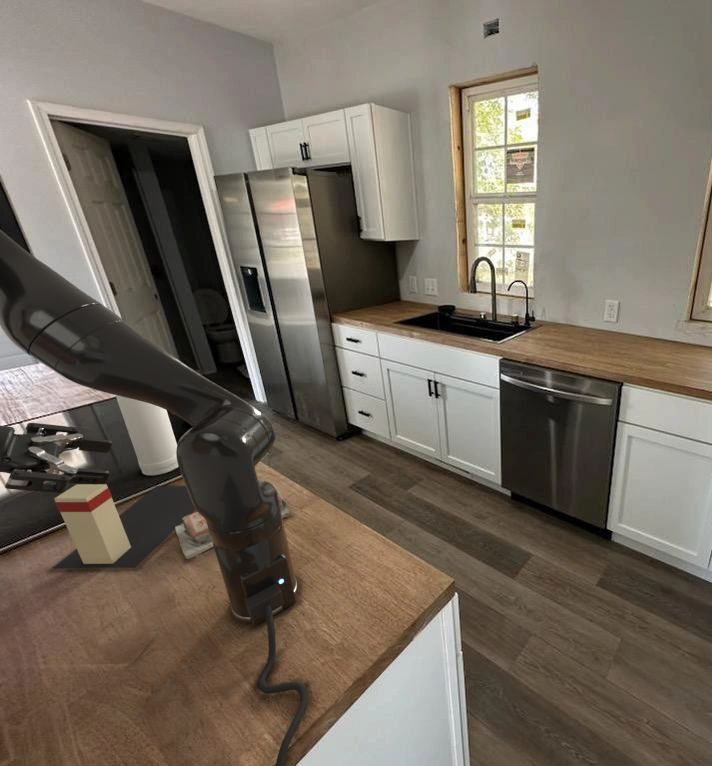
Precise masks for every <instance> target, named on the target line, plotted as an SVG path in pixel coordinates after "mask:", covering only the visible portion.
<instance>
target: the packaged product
mask: <svg viewBox="0 0 712 766" xmlns="http://www.w3.org/2000/svg"><path fill="white" fill-rule="evenodd" d="M271 484H272V483H271ZM272 485H273V486H274V487H275V489H276V491H277V494H278V499H279V504H280V508H281V513H282V518H283V519H284V518H286V517H289V516H291V513H292V512H291V511H290V510H289V508H288V507H287V502H286V499H285V498H284V495H283V494H282V493H281V492H280V491H279V490H278V488H277V487H276V485H275V484H272ZM182 522H183V523H181V524H180V525H179V526H176V527H175V533H176V536H177V537H178V541H179V545H180V548H181V551H182V553H183V555H184V557H185V558H186V560H189V559H192V558H194V557H196V556H198V555H201V554H202V553H203V552H206V551H208V550H209V549H212V548H214V546H213V543H212V539H211V536H210V532H209V529H208V526H207V523H206V520H205V519H204V518H203V516H201V515H200V514H199V513H198V511H196V512H195V511H194V512H193V513H192V514H190V515H187V516H185V517H184V518H182Z"/></svg>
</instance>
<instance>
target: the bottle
mask: <svg viewBox="0 0 712 766" xmlns="http://www.w3.org/2000/svg"><path fill="white" fill-rule="evenodd" d="M116 401H117V404H118V406H119V410H120V412H121V415H122V418H123V420H124V424H125V427H126V430H127V433H128V436H129V438H130V442H131V443H132V447H133V451H134V452H135V455H136V459H137V462H138V463H137V464H138V466H139V468H140V470H141V473H142V474H143V475H145V476H159V475H164V474H167V473H169V472H172V471H174V470H176V469H178V468H179V466H178V463H177V456H176V450H177V445H178V442H177V439H176V437H175V434H174V430H173V427H172V423H171V420H170V416H169V414H168V410H165V409H163V408H161V407H159V406H156V405H153V404H150V403H146V402H143V401H139V400H135V399H130V398H126V397H122V396H118V395H116Z"/></svg>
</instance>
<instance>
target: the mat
mask: <svg viewBox="0 0 712 766" xmlns="http://www.w3.org/2000/svg"><path fill="white" fill-rule="evenodd" d="M195 511H197V510H196V509H195V507H194V505H193V503H192V501H191V498H190V496H189V493H188V491H187V488H186V485H184V486H183V485H157V486H155V487H154V488H152V490H150V491H149V492H147V494H145V495H144V496H142V497H141V498H140V499H139V500H137V501H136V502H135V503H133V504H132V505H131V506H130V507H128V508H127V509H126V510H125V511H123V512H122V513H121V514H119V518H120V520H121V523H122V525H123V528H124V530H125V533H126V535H127V538H128V540H129V543H130V546H131V548H130V549H129V550H128V551H127V552H125V553H124V554H123V555H122V556H121V557H120V558H119V559H118V560H116V561H115V562H114V563H113V564H84V563H83V561H82V559H81V557H80V555H79V552H78V550H77V548H76V549H75V550H74V551H72V552H71V553H70V554H68V555H67V556H66V557H64V558H63V559H62V560H60V561H59V562H58V563H57V564H55V565H54V566H53V567H52V569H104V568H105V569H106V568H107V569H108V568H109V569H111V568H112V569H113V568H114V569H115V568H118V569H120V568H123V569H124V568H137V567H138V566H139V565H140V564H141V563H142V562H143V561H144V560H145V559H146V558H148V556H149V555H150V554H152V553H153V552H154V550H156V549H158V547H159V546H160V545H161V544H162V543H164V541H165V540H166V539H168V538H169V536H170V535H171V534H172V533H173V532H174V531H176V529H175V527H176V526H179V525H182V524H183V522H182V518H184V517H185V516H187V515H190V514H192V513H195Z"/></svg>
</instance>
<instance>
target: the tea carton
mask: <svg viewBox="0 0 712 766" xmlns="http://www.w3.org/2000/svg"><path fill="white" fill-rule="evenodd" d="M53 500H54V504H55V505H56V508H57V511H58V512H59V513H60V515H61V517H62V520H63V521H64V524H65V526H66V528H67V531H68V533H69V535H70V537H71V540H72V542H73V544H74V546H75V548H76V549H77V550H78V552H79V555H80V557H81V559H82V561H83V563H84V564H113V563H114V562H115V561H116V560H118V559H119V558H120V557H121V556H122V555H123V554H124V553H125V552H127V551H128V550H129V549H130V548H131V546H130V543H129V540H128V538H127V535H126V533H125V530H124V528H123V525H122V523H121V520H120V518H119V516H120V514H119V512H118V510H117V507H116V505H115V502H114V500H113V495H112V493H111V490H110V488H109V487H108V485H107V484H106V483H104V484H97V485H95V484H78V483H76V484H75V485H73V486H72V487H70V488H68V489H67V490H66V491H65V490H64V492H61V493H60V494H59V495H57V496H56V497H54V498H53Z"/></svg>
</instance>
